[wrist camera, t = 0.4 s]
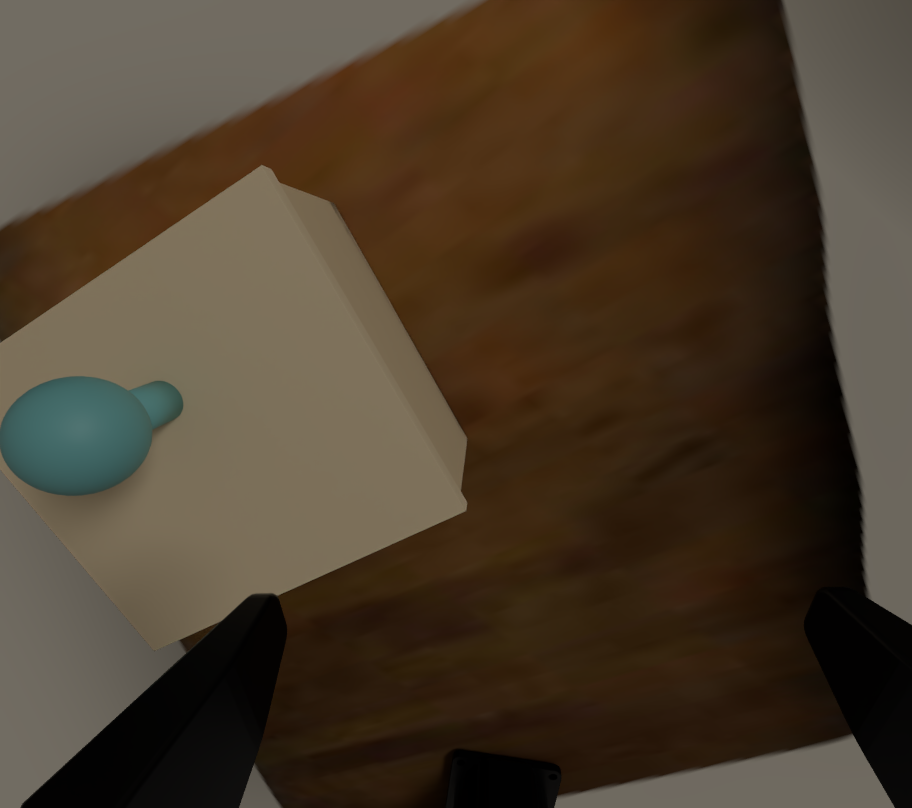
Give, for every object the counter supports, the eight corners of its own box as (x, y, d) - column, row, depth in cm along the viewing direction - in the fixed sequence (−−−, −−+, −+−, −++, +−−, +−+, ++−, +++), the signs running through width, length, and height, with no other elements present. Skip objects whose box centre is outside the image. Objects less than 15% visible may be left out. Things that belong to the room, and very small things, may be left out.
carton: (467, 438, 23) (459, 498, 17) (239, 548, 25) (166, 632, 20) (333, 203, 20) (270, 179, 14) (95, 355, 23) (-39, 386, 17)
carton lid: (467, 502, 17) (456, 611, 12) (164, 639, 20) (44, 777, 14) (271, 169, 14) (139, 113, 9) (-50, 385, 17) (-294, 441, 12)
